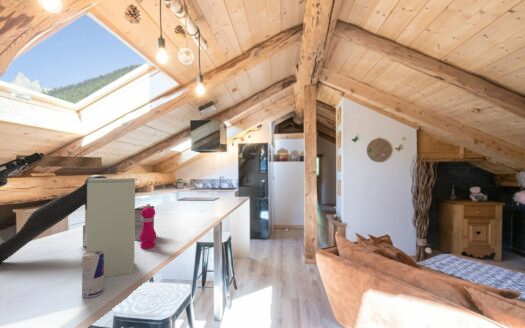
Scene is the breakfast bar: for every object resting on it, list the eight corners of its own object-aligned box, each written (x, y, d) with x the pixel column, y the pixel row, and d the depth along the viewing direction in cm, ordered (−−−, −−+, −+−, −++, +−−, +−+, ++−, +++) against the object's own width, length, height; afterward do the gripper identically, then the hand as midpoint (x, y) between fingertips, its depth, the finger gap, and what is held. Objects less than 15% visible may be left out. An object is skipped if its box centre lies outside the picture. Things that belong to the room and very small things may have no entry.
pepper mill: (159, 244, 125) (159, 202, 125) (151, 249, 118) (151, 205, 118) (144, 244, 125) (145, 202, 126) (136, 248, 118) (136, 204, 118)
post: (86, 279, 87) (87, 179, 87) (92, 268, 96) (92, 178, 96) (133, 272, 92) (133, 179, 92) (134, 262, 101) (135, 177, 102)
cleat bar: (16, 166, 83) (16, 155, 83) (20, 166, 86) (21, 155, 86) (100, 167, 92) (100, 157, 92) (101, 167, 95) (101, 157, 96)
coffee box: (142, 235, 141) (142, 205, 141) (154, 235, 141) (154, 205, 141) (133, 240, 132) (134, 208, 132) (146, 240, 132) (146, 208, 132)
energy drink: (107, 291, 79) (108, 251, 79) (91, 299, 74) (91, 257, 74) (94, 288, 80) (95, 249, 80) (77, 296, 75) (77, 255, 75)
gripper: (1, 189, 88) (55, 164, 94) (-24, 194, 75) (41, 164, 81) (-14, 170, 87) (43, 146, 93) (-42, 171, 74) (26, 143, 80)
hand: (42, 155), depth 87 cm, fingers closed on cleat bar, 3 cm apart
